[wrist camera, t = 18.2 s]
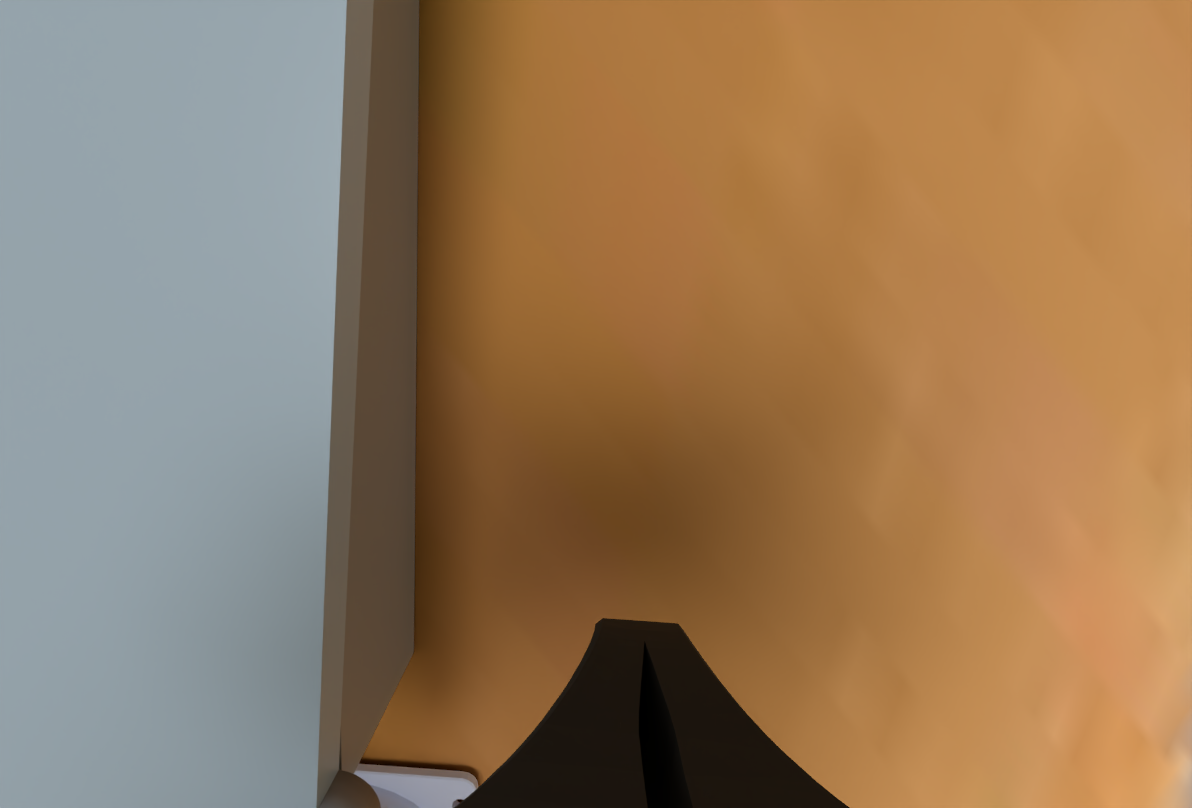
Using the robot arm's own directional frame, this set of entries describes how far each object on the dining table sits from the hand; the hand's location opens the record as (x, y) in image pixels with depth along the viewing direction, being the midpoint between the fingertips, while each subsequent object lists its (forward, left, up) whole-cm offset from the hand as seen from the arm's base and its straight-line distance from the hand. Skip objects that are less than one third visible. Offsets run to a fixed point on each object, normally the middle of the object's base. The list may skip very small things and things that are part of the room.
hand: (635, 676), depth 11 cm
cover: (+4, +11, -3) cm, 12 cm away
